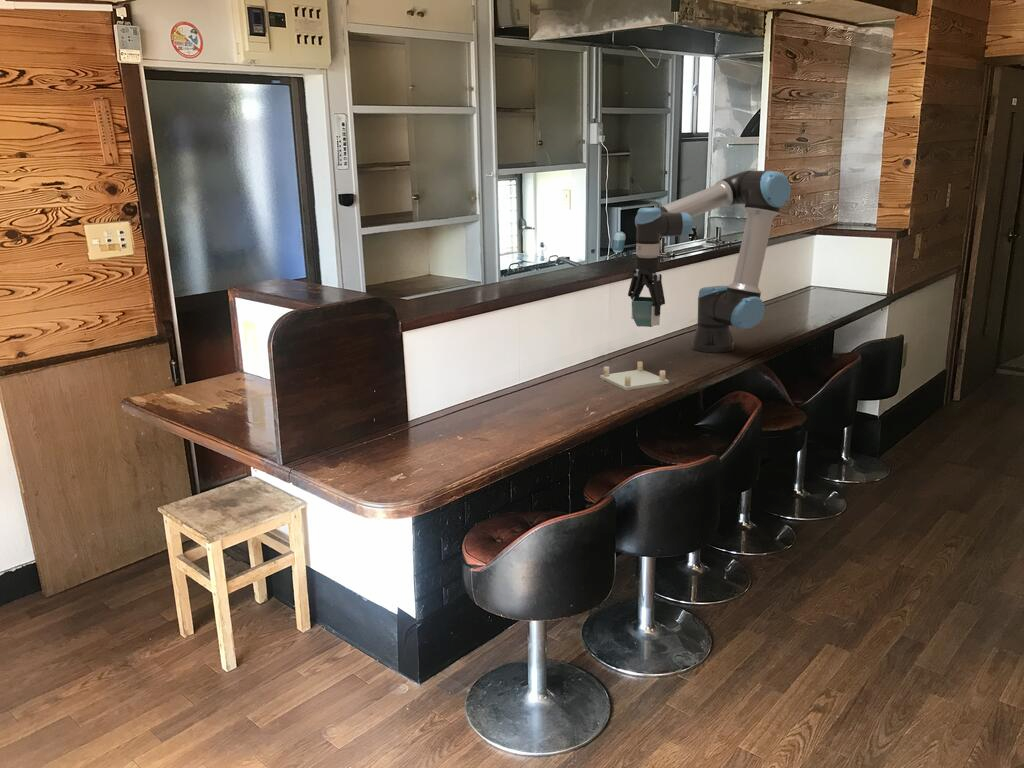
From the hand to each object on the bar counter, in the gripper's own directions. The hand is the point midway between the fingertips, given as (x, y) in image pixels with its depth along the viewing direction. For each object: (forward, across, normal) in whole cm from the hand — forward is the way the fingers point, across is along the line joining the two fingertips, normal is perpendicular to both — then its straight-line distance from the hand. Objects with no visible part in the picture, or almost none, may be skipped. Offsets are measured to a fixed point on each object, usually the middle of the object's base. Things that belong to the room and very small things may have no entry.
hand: (645, 321), depth 278 cm
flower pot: (+2, 0, 0) cm, 2 cm away
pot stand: (+17, +9, -9) cm, 21 cm away
